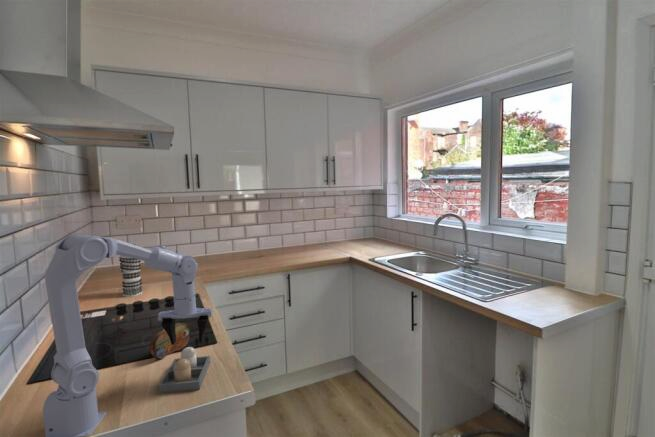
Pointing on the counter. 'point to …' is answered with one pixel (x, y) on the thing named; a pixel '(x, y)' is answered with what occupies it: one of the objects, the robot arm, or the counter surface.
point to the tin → (162, 342)
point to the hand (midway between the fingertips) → (187, 342)
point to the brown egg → (182, 370)
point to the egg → (190, 356)
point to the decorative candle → (131, 276)
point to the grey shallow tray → (195, 384)
